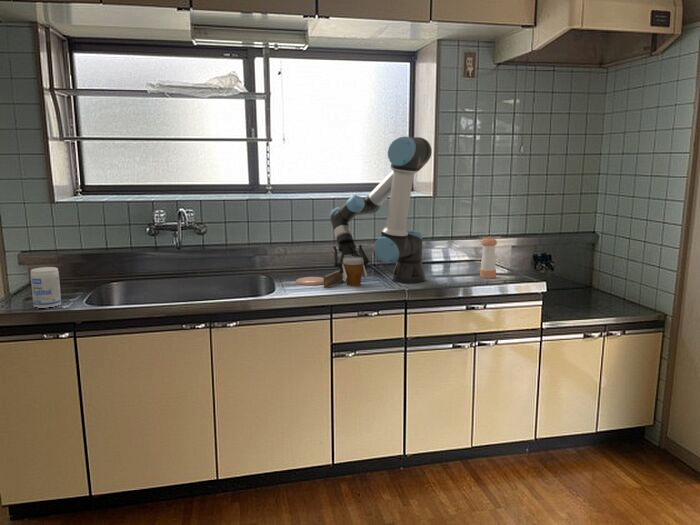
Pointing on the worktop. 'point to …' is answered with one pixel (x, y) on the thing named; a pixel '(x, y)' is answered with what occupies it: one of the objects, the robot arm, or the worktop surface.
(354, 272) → the disposable coffee cup
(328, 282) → the walnut wall
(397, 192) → the robot arm
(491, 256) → the pepper shaker
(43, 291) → the supplement tub
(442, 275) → the worktop surface
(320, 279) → the terracotta coaster
